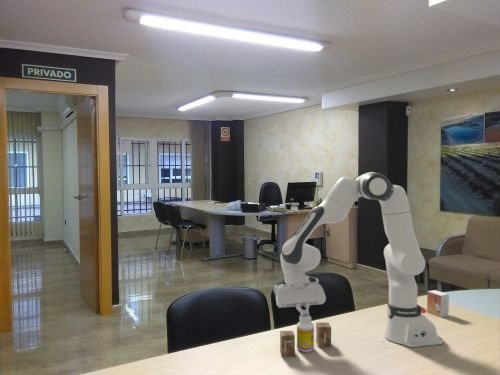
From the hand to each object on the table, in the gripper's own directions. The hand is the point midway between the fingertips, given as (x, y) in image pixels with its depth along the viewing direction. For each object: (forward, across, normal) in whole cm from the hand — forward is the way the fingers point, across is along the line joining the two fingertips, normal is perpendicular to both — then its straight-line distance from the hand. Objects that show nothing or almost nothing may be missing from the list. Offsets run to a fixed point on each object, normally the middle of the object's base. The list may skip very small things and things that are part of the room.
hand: (305, 315), depth 159 cm
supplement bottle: (+10, 0, +10) cm, 14 cm away
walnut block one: (+8, +9, +11) cm, 16 cm away
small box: (-5, +76, +24) cm, 80 cm away
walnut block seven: (+11, -8, +8) cm, 16 cm away
